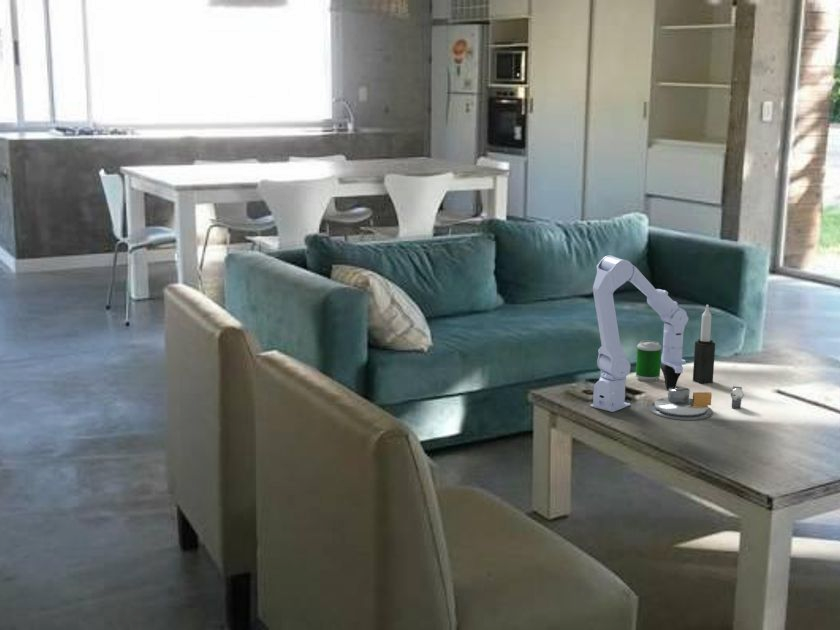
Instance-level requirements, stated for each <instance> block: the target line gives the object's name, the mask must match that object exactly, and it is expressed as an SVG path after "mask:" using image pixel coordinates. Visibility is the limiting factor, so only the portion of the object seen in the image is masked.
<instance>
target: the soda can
mask: <svg viewBox="0 0 840 630" xmlns="http://www.w3.org/2000/svg"><path fill="white" fill-rule="evenodd" d="M661 357H662V345H660V343H659V342H657V341H654V340H642V341H640V342H639V343H638V344H637V345H636V364H635V365H636V366H635V367H636V368H635V377H636V378H638V380H640V381H641V382H647V383H648V382H649V383H650V382H657V380H659V378H661V377H660V376H661V363H662V362H661Z"/></svg>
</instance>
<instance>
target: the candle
mask: <svg viewBox="0 0 840 630" xmlns="http://www.w3.org/2000/svg"><path fill="white" fill-rule="evenodd" d="M709 306H710V305H709V304H706V306H705V310H704V312H703V313H702V314H701V324H700V325H701V327H700V338H699V339H697V341H695V342H694V352H693V355H694V356H693V366H692V367H693V370H692V371H693V372H692V373H693V374H692V381H693V382H695V383H698V384H701V385H707V384H713V383H714V382H713V381H714V367H715V355H716V354H715V353H716V352H715V351H716V343H715V342H714V341H713V340H712V339H711V333H712V332H711V330H712V317H713V316H712V313H711V312H710V309H709Z"/></svg>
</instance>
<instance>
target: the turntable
mask: <svg viewBox="0 0 840 630" xmlns="http://www.w3.org/2000/svg"><path fill="white" fill-rule="evenodd" d="M712 395H713V393H712V391H711V392H709V391H708V392H707V391H706V392H705V391H704V392H702V391H700V392H695V391H694V392H693V393H692V398H691V397H689V402H688V403H686V404H675V403H671V402H669V401H668V396H667V397H663V398H662V397H661V398H659V399H656V400H655V401H654V403H655V409H656V410H657V411H659V412H661V413H664V414H668V415H673V416H683V417H692V416H700V415H703V414H706V413H707V412H708V407H709V406H712V398H713V397H712Z"/></svg>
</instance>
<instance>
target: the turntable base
mask: <svg viewBox="0 0 840 630" xmlns="http://www.w3.org/2000/svg"><path fill="white" fill-rule="evenodd" d="M648 410H649V412H651V413H652V414H654V415H656V416H659V417H661V418H666V419H668V420H669V419H670V420H676V421H677V420H678V421H701V420H704V419H705V420H706V419H708V418H710V417H712V416H713V414H714V411H713V409H712V408H710V407H709V406H708V412H707V413H706V414H703V415H700V416H692V417H683V416H673V415H668V414H664V413H661V412H659V411H657V410H656V409H655V402H653V403H651V404H650V405H649V408H648Z"/></svg>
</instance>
